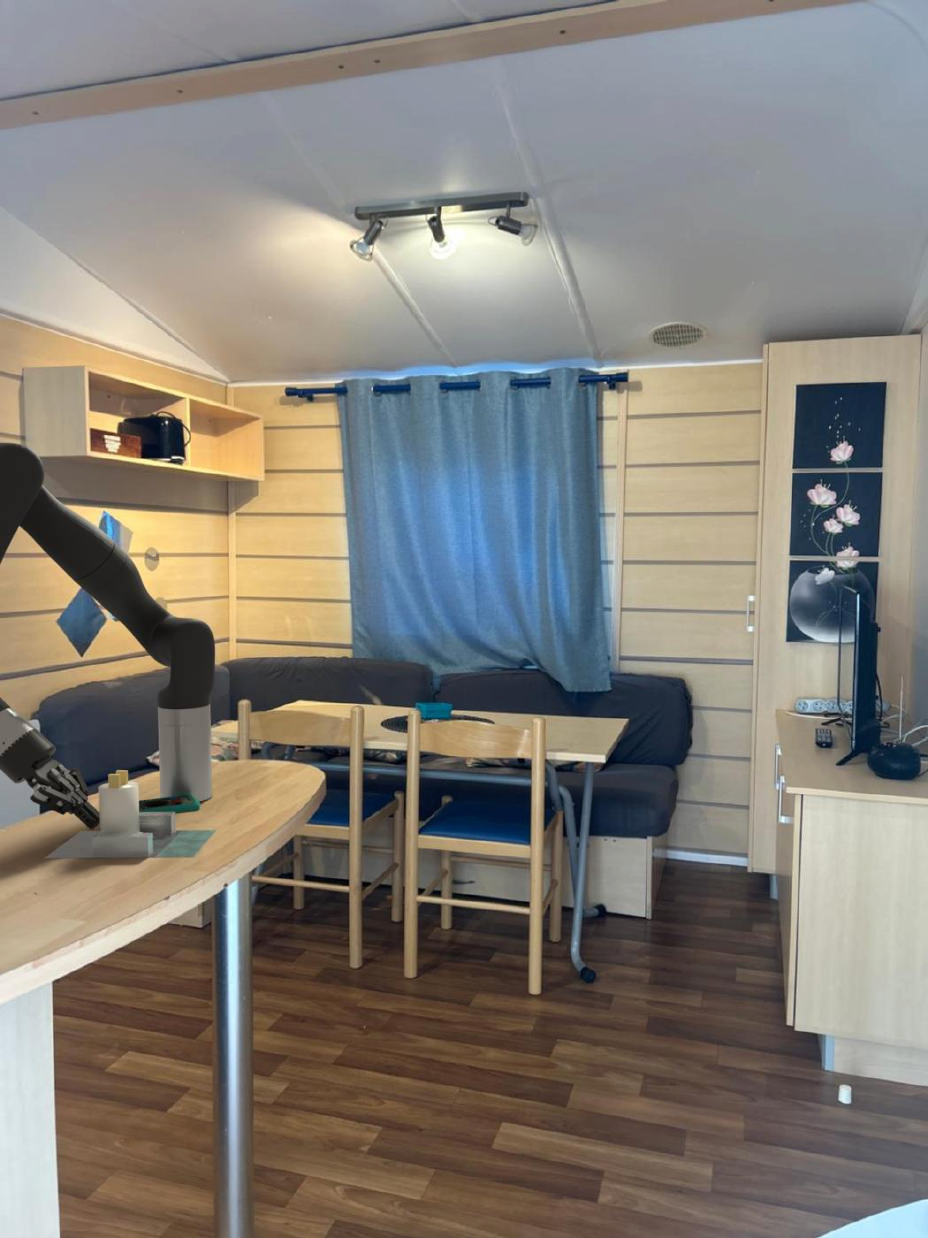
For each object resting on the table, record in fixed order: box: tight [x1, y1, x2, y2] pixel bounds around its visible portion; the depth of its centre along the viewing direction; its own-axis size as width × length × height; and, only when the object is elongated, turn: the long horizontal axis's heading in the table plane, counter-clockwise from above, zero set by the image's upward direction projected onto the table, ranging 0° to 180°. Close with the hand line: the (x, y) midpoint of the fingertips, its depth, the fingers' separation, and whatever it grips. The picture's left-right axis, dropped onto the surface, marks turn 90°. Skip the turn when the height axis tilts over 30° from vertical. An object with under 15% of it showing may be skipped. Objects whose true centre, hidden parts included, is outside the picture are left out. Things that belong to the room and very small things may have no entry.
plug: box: [98, 769, 143, 833], centre depth 139 cm, size 7×7×11 cm
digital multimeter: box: [139, 794, 201, 814], centre depth 158 cm, size 7×15×3 cm, turn 118°
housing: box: [44, 812, 217, 859], centre depth 140 cm, size 13×22×4 cm, turn 91°
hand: (98, 824), depth 139 cm, fingers closed
